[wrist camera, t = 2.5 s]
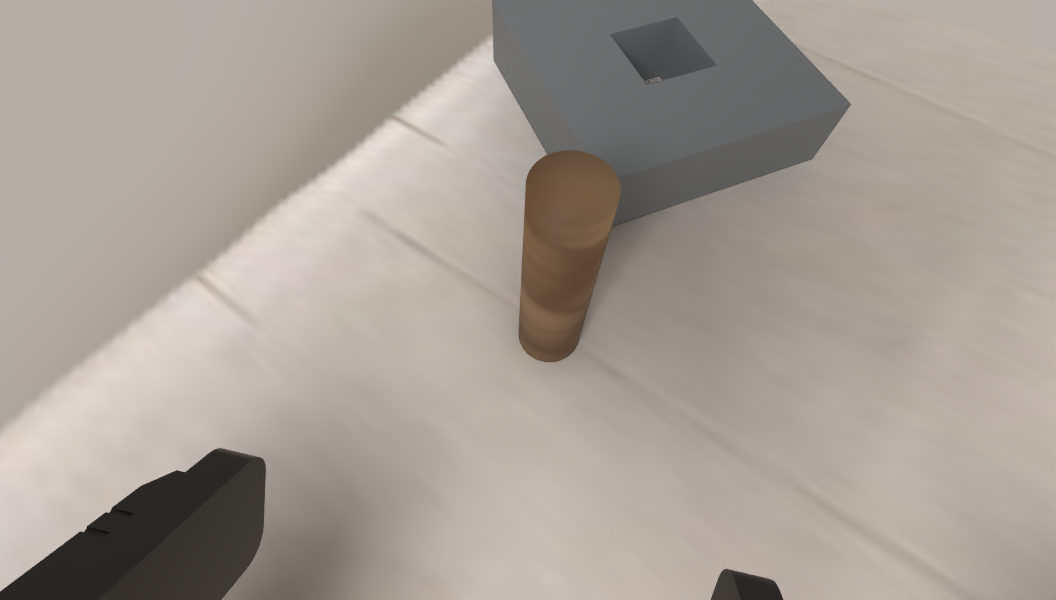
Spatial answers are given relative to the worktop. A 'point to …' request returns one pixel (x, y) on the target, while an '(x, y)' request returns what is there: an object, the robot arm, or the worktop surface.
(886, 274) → the worktop surface
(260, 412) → the worktop surface
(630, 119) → the hole block
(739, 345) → the worktop surface
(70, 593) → the robot arm
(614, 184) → the peg
